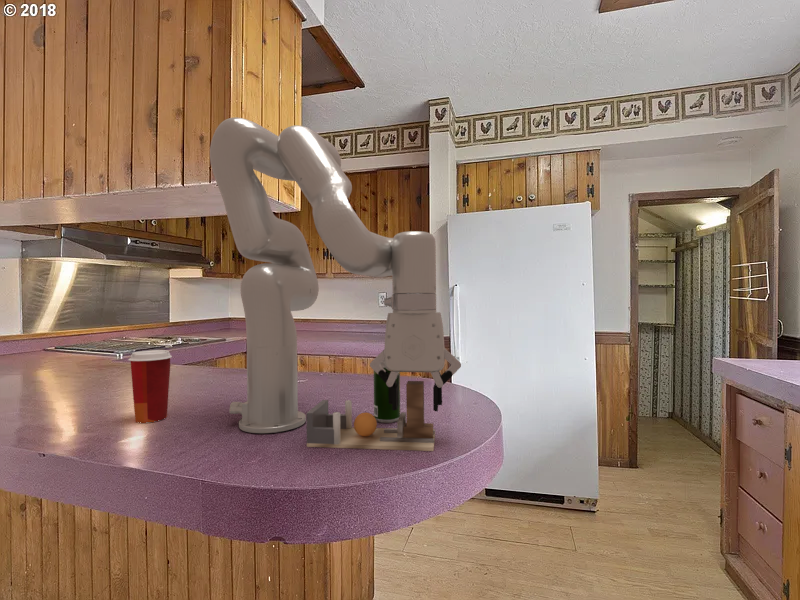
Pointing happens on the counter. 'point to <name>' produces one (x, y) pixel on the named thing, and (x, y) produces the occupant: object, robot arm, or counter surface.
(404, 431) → the kicker
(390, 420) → the beer can
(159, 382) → the paper cup
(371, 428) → the ball
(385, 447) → the board
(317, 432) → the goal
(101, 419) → the counter surface
